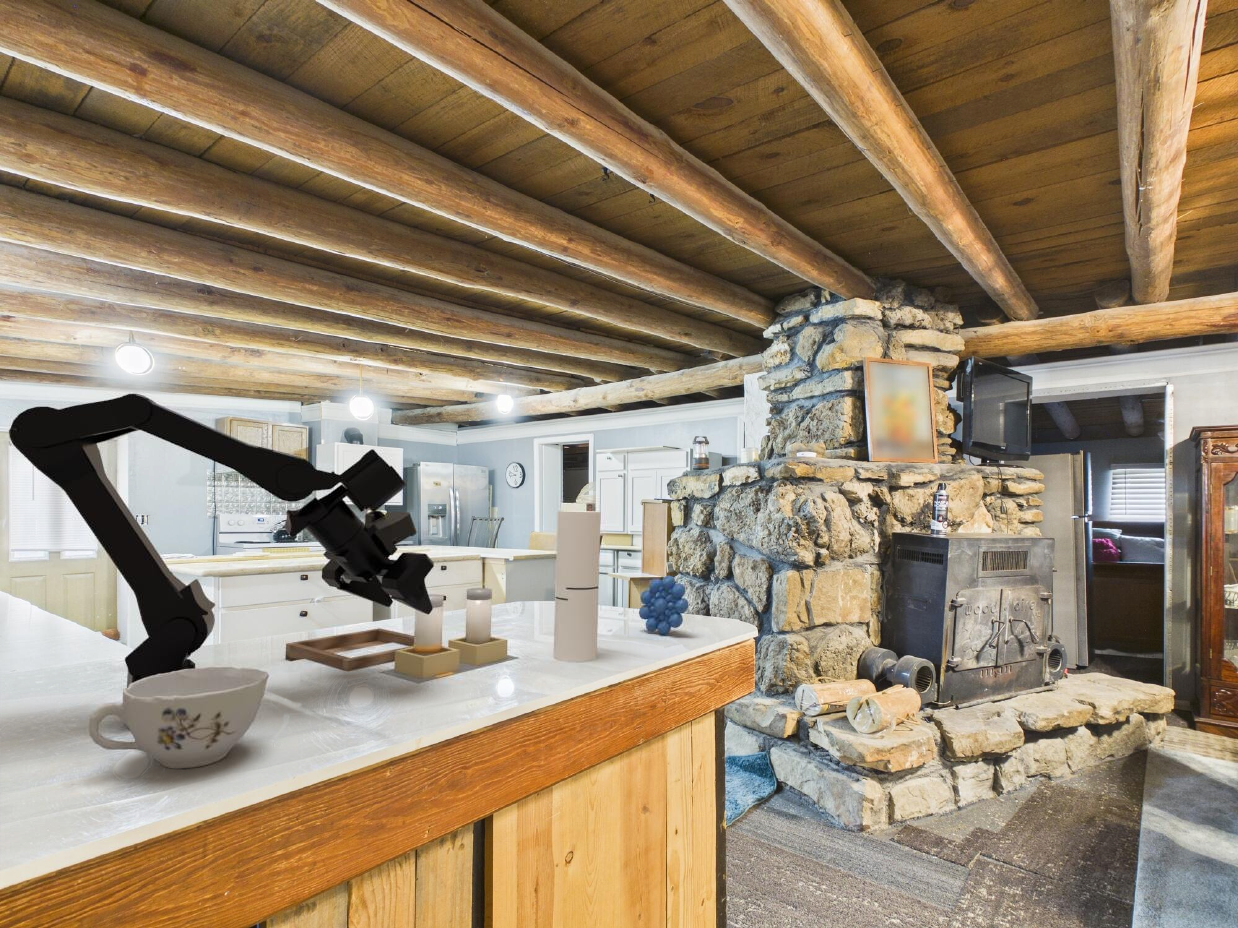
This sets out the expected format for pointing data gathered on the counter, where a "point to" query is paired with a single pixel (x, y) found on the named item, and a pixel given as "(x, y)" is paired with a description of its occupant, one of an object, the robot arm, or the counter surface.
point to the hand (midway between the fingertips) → (409, 607)
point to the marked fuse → (429, 628)
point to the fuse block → (448, 660)
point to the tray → (348, 648)
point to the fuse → (478, 616)
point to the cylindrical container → (577, 586)
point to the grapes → (663, 605)
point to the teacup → (186, 714)
